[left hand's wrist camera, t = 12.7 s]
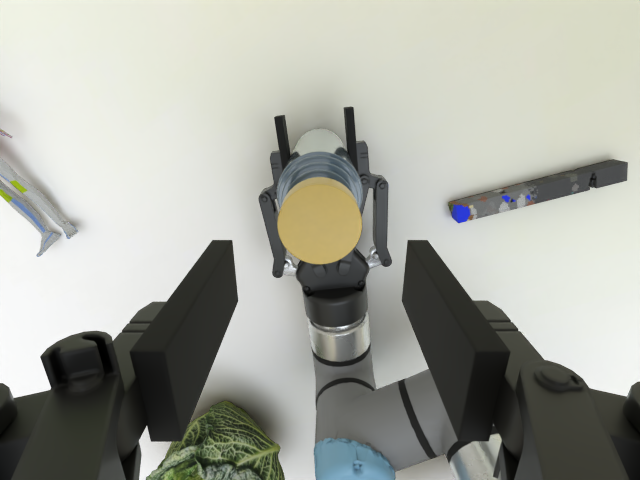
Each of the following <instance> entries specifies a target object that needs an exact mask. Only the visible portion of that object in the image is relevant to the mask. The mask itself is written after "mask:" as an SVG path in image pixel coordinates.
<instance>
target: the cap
mask: <svg viewBox="0 0 640 480" xmlns="http://www.w3.org/2000/svg"><path fill="white" fill-rule="evenodd" d="M277 227H278V233H279V237H280V239H281V241H282V243H283V245H284V246H285V248H286V249H287V250H288V251H289V252H290V253H291V254H292V255H293V256H295V257H296V258H298V259H300V260H302V261H304V262H308V263H312V264H328V263H332V262H335V261H338V260H340V259H342V258H343V257H345V256H346V255H347V254H349V253H350V252H351V251H352V250H353V248H354V247H355V246H356V244H357V242H358V240H359V238H360V235H361V231H362V218H361V213H360V210H359V207H358V205H357V202H356V199H355V197H354V196H353V194H352V193H351V191H350V190H349V189H348V188H347V187H346V186H344V185H343V184H342V183H340V182H338V181H336V180H334V179H330V178H325V177H314V178H309V179H306V180H304V181H301V182H300V183H298V184H297V185H295V186H294V187H293V188H292V189H291V190H290V191H289V192H288V193H287V195H286V197H285V198H284V201H283V203H282V206H281V209H280V212H279V215H278V222H277Z"/></svg>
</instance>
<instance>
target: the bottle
mask: <svg viewBox="0 0 640 480" xmlns="http://www.w3.org/2000/svg"><path fill="white" fill-rule="evenodd" d="M314 177H325V178H330V179H334V180H336V181H338V182H340V183H342V184H343V185H344V186H346V187H347V188H348V189H349V190H350V191H351V193H352V194H353V196H354V197H355V199H356V202H357V205H358V207H359V210H360V207H361V203H362V198H363V189H362V183H361V180H360V177H359V175H358V173H357V171H356V169H355V167H354V165H353V163H352V161H351V159H350V157H349V155H348V153H347V151H346V149H345V147H344V145H343V143H342V141H341V139H340V138H339V137H338V136H337V135H336V134H335V133H334V132H332V131H330V130H327V129H322V128H318V129H313V130H310V131H308V132H306V133H305V134H304V135H303V136H302V137H301V138H300V139H299V141H298V142H297V144H296V146H295V148H294V150H293V152H292V154H291V156H290V158H289V160H288V162H287V164H286V166H285V168H284V170H283V172H282V174H281V177H280V179H279V182H278V186H277V200H278V204H279V208H280V209H281V206H282V203H283V201H284V198H285V197H286V195H287V193H288V192H289V191H290V190H291V189H292V188H293V187H294V186H295V185H297V184H298V183H300V182H301V181H304V180H306V179H309V178H314Z"/></svg>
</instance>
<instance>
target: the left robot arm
mask: <svg viewBox="0 0 640 480" xmlns="http://www.w3.org/2000/svg"><path fill="white" fill-rule="evenodd" d="M237 302H238V295H237V285H236V274H235V264H234V254H233V244H232V240H212V242H211V243H210V244H209V246H208V247H207V248H206V250H205V251H204V253H203V254H202V255H201V257H200V258H199V259H198V261H197V262H196V263H195V265H194V266H193V267H192V269H191V270H190V271H189V273H188V274H187V275H186V277H185V278H184V279H183V281H182V282H181V283H180V285H179V286H178V287H177V289H176V290H175V291H174V293H173V294H172V295H171V297H170V298H169V299H168V301H167V302H152V303H150V304H149V305H147V306H146V307H144V308H142V309H141V310H139V311H138V312H137V313H136V315H135V316H134V317H133V318H132V319H131V321H130V323H129V324H127V325H126V326H125V328H124V329H123V330H122V333H120V334H119V335H118V336H117V337H116V338H115V339H114V341H112V337H111V336H110V335H109V334H107V333H106V332H100V331H89V332H82V333H78V334H75V335H71V336H69V337H66V338H64V339H62V340H60V341H58V342H56V343H55V344H53V345H52V346H50V347H49V348H47V349H46V351H45V352H44V353H43V354H42V355H41V360H42V363H43V366H44V368H45V371H46V374H47V377H48V380H49V382H50V385H51V390H48V391H44V392H40V393H35V394H31V395H26V396H22V397H17V398H13V396H12V394H11V391H10V389H9V387H7V386H6V385H5V384H3V383H0V480H139V473H140V464H141V449H140V445H139V439H140V437H141V435H142V433H143V431H144V430H145V428H146V426H147V427H148V431H149V435H150V439H151V441H182V440H183V437H184V435H185V432H186V430H187V427H188V425H189V422H190V420H191V417H192V415H193V412H194V410H195V407H196V405H197V402H198V400H199V397H200V395H201V392H202V390H203V387H204V385H205V382H206V380H207V377H208V375H209V372H210V370H211V367H212V365H213V362H214V360H215V357H216V355H217V352H218V350H219V347H220V345H221V342H222V340H223V337H224V335H225V332H226V330H227V327H228V325H229V322H230V320H231V317H232V315H233V312H234V310H235V307H236V305H237ZM402 302H403V305H404V307H405V310H406V312H407V315H408V317H409V320H410V322H411V325H412V327H413V330H414V332H415V335H416V337H417V340H418V342H419V345H420V347H421V350H422V352H423V355H424V357H425V360H426V362H427V365H428V367H429V370H430V372H431V375H432V377H433V380H434V382H435V385H436V387H437V390H438V392H439V395H440V397H441V400H442V402H443V405H444V407H445V410H446V412H447V415H448V417H449V420H450V422H451V425H452V427H453V430H454V432H455V435H456V437H457V440H458V441H489V439H490V435H491V431H492V427H493V424H494V426H495V428H496V430H497V431H498V433H499V435H500V437H501V439H502V441H501V445H500V448H499V452H498V456H497V460H496V464H495V468H494V473H493V477H495V478H498V476H499V473H500V472H501V480H640V382H637V383H635V384H634V385H632V386H631V389H630V391H629V394H628V396H627V397H626V396H621V395H616V394H612V393H607V392H603V391H598V390H594V389H590V388H589V387H588V386H587V384H586V383H585V381H584V380H583V379H582V378H581V377H580V376H578V375H577V374H576V373H575V372H573V371H572V370H570V369H568V368H566V367H564V366H562V365H560V364H557V363H554V362H551V361H547V360H544V359H543V358H542V357H541V355H540V354H539V353H538V352H537V351H536V349H535V348H534V347H533V346H532V345H531V344H530V342H529V341H528V340H527V339H526V338H525V337H524V335H523V334H522V333H521V332H520V331H518V328H517V327H516V326H515V325H514V324H513V323H512V322H511V320H510V319H509V318H508V317H507V315H506V314H505V313H504V312H503V311H502V310H501V309H500V308H498V307H497V306H495V305H493V304H492V303H490V302H489V301H472V299H471V298H470V297H469V295H468V294H467V293H466V291H465V290H464V289H463V287H462V286H461V285H460V283H459V282H458V281H457V279H456V278H455V277H454V275H453V274H452V273H451V271H450V270H449V269H448V267H447V266H446V265H445V263H444V262H443V261H442V259H441V258H440V257H439V255H438V254H437V253H436V251H435V250H434V248H433V247H432V246H431V244H430V243H429V242H428V240H408V244H407V254H406V264H405V274H404V285H403V295H402Z"/></svg>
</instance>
